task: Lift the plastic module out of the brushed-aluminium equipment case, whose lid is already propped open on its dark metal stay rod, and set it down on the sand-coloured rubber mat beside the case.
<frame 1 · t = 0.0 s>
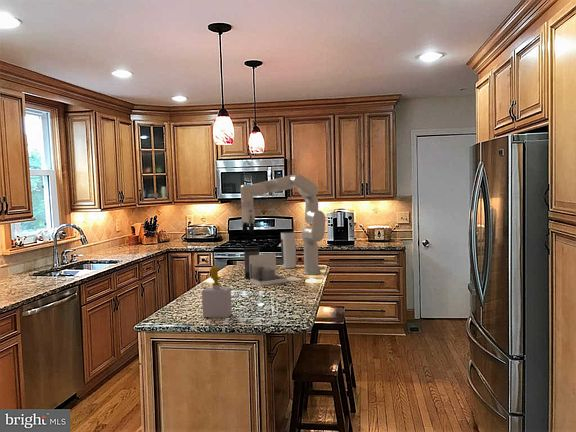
hand: (248, 231, 306), 31 cm above the countertop, fingers open, 9 cm apart
soap bottle: (217, 316, 228), on the countertop
electronic device: (252, 279, 317), on the countertop
module: (268, 282, 301), resting on equipment case
speaker: (289, 267, 357), on the countertop
rubber mat: (291, 280, 309), on the countertop
equipment case: (268, 283, 301), on the countertop
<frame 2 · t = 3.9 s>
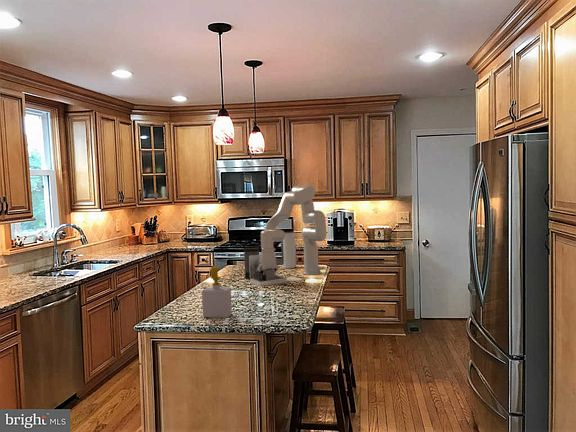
hand: (268, 280, 301), 2 cm above the countertop, fingers closed on module, 5 cm apart
module: (268, 282, 301), point 1 cm above the countertop, touching equipment case, gripper
everything else where it was.
when the fingers open (4 cm above the countertop, at t = 12.3 s): module drops 2 cm, resting on rubber mat.
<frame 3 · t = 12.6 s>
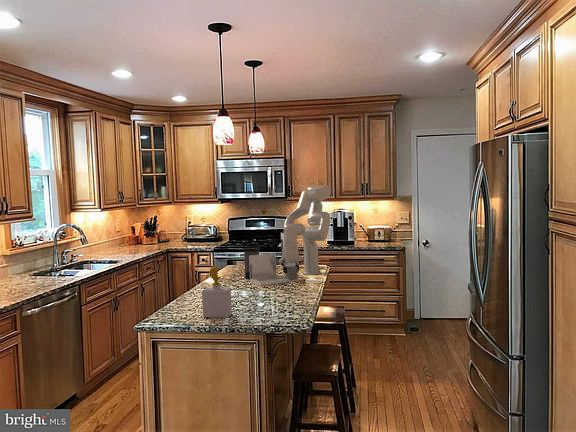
hand: (291, 272, 308), 5 cm above the countertop, fingers open, 8 cm apart
module: (291, 279, 309), point 1 cm above the countertop, touching rubber mat
everything else where it was.
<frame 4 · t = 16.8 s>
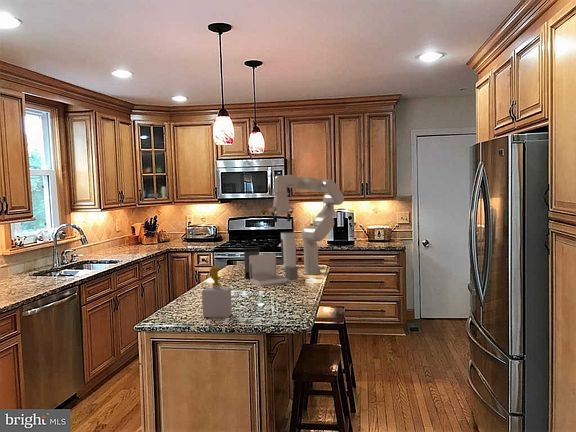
hand: (282, 221, 315), 36 cm above the countertop, fingers open, 9 cm apart
nothing on the countertop moved.
at the end: module inside the target area on the rubber mat (0.1 cm from its centre), point 0.6 cm above the rubber mat's base; module tilted 0°; the gripper is holding nothing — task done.
